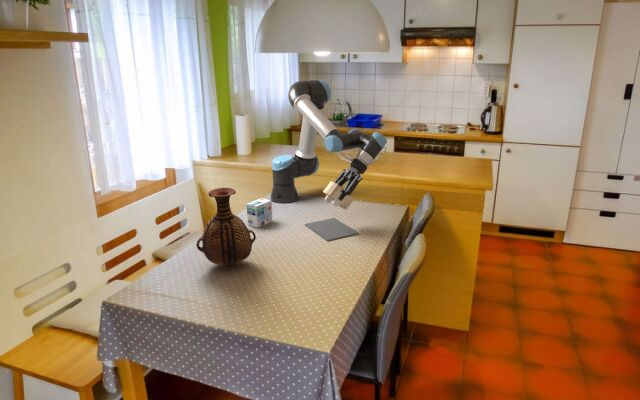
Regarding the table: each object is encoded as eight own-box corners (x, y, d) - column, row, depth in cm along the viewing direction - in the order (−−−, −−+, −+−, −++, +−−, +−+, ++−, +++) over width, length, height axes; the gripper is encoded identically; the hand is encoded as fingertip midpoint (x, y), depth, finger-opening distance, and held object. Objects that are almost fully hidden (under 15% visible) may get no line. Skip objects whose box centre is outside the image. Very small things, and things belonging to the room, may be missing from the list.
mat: (304, 225, 219) (304, 223, 219) (334, 218, 226) (334, 217, 226) (327, 241, 201) (327, 240, 201) (358, 234, 208) (358, 232, 208)
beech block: (339, 206, 215) (322, 191, 209) (347, 196, 216) (331, 181, 209) (346, 210, 210) (329, 195, 204) (354, 199, 211) (337, 184, 204)
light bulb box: (257, 228, 217) (256, 206, 213) (247, 225, 221) (245, 203, 217) (273, 221, 225) (272, 200, 221) (263, 218, 229) (261, 197, 225)
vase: (258, 254, 189) (254, 183, 180) (254, 275, 172) (248, 197, 163) (205, 256, 189) (197, 184, 179) (195, 277, 172) (186, 199, 162)
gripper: (378, 172, 205) (346, 214, 203) (355, 163, 221) (325, 202, 219) (368, 161, 201) (335, 204, 199) (345, 153, 217) (314, 193, 215)
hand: (330, 203), depth 209 cm, fingers closed on beech block, 6 cm apart
